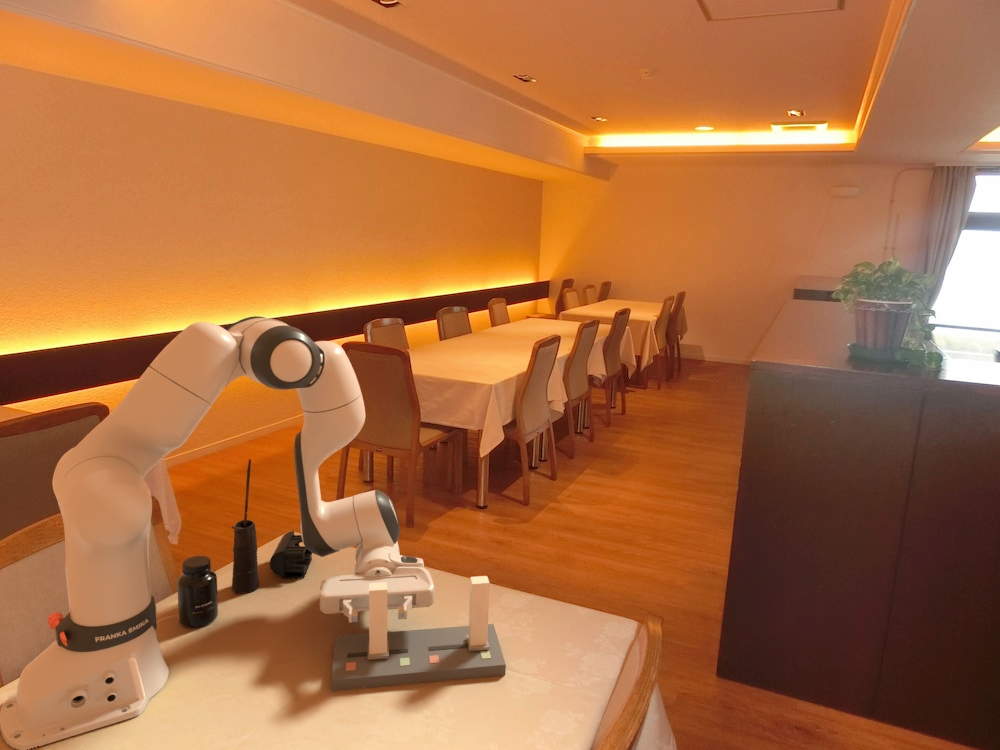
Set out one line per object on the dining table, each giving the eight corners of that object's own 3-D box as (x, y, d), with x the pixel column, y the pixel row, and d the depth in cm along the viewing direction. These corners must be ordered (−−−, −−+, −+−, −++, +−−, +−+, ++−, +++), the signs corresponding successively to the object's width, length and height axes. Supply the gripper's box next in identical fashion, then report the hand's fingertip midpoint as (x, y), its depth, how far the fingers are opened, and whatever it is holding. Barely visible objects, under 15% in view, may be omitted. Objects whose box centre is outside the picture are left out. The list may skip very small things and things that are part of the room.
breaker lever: (469, 651, 113) (471, 586, 110) (466, 637, 117) (468, 574, 114) (489, 649, 113) (492, 585, 111) (485, 635, 117) (488, 573, 115)
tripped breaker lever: (367, 659, 109) (367, 593, 107) (367, 645, 113) (367, 580, 111) (388, 658, 110) (389, 591, 107) (388, 643, 114) (388, 579, 111)
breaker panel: (331, 690, 105) (331, 679, 104) (335, 645, 116) (335, 635, 116) (505, 674, 110) (505, 664, 110) (493, 633, 122) (493, 623, 122)
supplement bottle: (203, 631, 119) (199, 572, 116) (171, 626, 120) (166, 567, 118) (226, 611, 126) (223, 555, 123) (195, 606, 127) (191, 550, 124)
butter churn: (226, 608, 127) (219, 474, 121) (210, 587, 134) (203, 460, 128) (272, 592, 133) (267, 464, 127) (254, 574, 140) (249, 451, 134)
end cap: (281, 558, 147) (280, 530, 146) (312, 557, 148) (312, 530, 146) (269, 580, 137) (268, 551, 136) (303, 580, 138) (303, 551, 137)
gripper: (321, 563, 120) (314, 604, 107) (430, 557, 124) (437, 596, 111) (321, 594, 121) (315, 638, 108) (430, 587, 125) (436, 629, 112)
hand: (378, 617), depth 109 cm, fingers open, 7 cm apart
